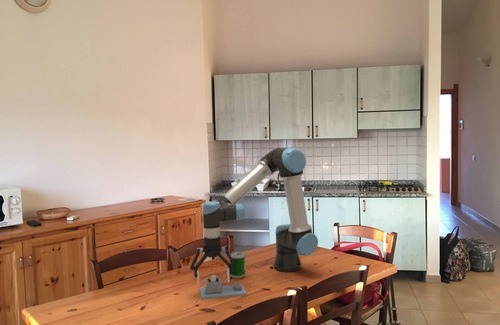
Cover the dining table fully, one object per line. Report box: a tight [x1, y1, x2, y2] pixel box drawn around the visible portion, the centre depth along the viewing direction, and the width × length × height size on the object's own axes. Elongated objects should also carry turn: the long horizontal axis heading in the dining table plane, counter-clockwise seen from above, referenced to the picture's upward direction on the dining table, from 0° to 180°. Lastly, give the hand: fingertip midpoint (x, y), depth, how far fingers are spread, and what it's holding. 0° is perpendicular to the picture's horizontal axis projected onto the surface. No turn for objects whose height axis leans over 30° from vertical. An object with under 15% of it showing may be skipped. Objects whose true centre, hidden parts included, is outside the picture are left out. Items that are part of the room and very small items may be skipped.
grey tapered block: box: [204, 276, 223, 295], centre depth 191 cm, size 7×7×5 cm
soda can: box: [229, 251, 246, 280], centre depth 213 cm, size 8×8×12 cm
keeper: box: [199, 274, 247, 300], centre depth 192 cm, size 20×12×8 cm, turn 100°
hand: (213, 283), depth 191 cm, fingers open, 13 cm apart
